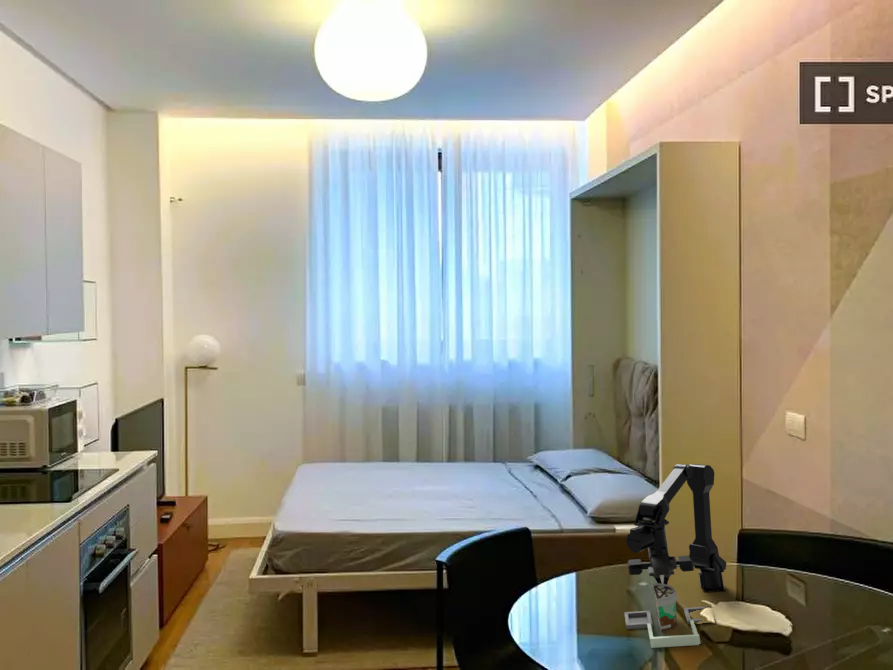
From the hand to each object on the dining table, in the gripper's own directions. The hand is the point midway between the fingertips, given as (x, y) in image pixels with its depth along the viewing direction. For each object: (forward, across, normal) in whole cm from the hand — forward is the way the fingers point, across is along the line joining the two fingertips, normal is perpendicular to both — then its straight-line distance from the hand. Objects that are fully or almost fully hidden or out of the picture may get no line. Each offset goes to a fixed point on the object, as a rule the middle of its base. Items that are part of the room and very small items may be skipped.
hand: (663, 593), depth 225 cm
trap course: (+6, 0, -11) cm, 12 cm away
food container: (+6, 0, -7) cm, 10 cm away
